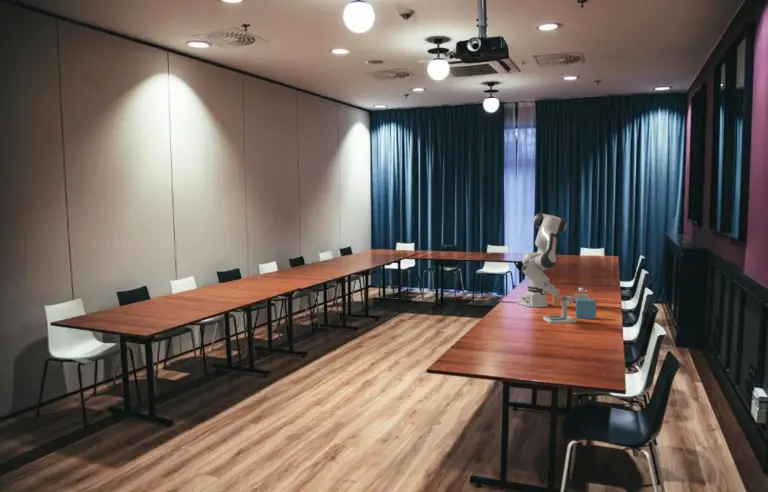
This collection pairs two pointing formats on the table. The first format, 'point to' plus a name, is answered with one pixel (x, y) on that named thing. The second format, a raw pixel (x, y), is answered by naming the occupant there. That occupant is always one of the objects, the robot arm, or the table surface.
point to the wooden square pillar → (556, 300)
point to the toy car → (581, 295)
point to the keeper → (564, 317)
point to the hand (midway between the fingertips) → (557, 296)
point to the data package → (585, 309)
